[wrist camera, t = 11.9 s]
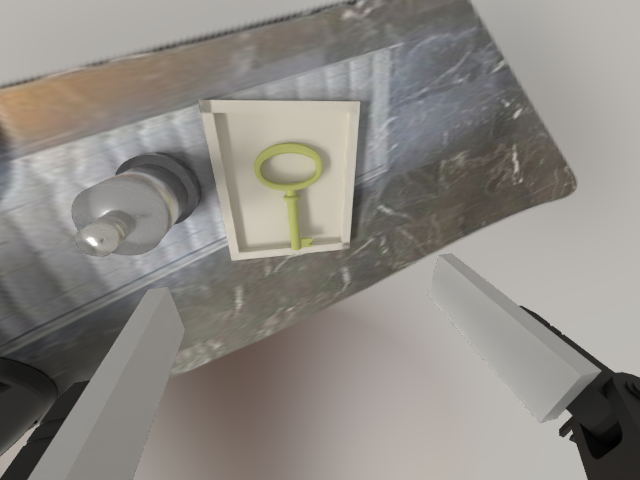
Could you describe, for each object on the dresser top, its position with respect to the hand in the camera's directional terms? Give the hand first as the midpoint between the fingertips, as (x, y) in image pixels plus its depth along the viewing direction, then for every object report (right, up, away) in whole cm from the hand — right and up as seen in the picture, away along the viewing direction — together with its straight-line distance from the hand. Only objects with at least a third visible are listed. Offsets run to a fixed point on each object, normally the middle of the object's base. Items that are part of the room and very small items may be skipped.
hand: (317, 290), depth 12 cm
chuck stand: (-16, +8, +13) cm, 23 cm away
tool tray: (-4, +9, +16) cm, 18 cm away
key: (-3, +8, +16) cm, 18 cm away
